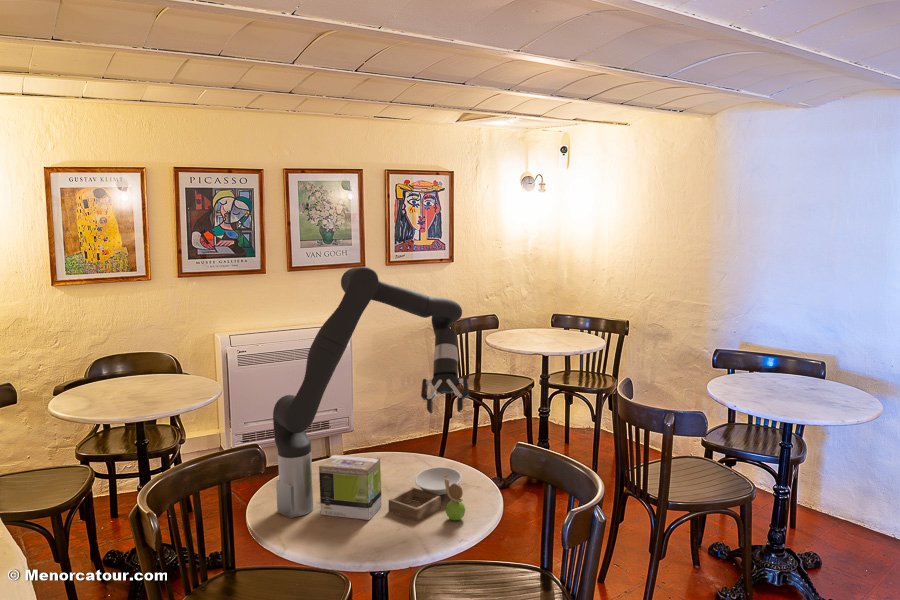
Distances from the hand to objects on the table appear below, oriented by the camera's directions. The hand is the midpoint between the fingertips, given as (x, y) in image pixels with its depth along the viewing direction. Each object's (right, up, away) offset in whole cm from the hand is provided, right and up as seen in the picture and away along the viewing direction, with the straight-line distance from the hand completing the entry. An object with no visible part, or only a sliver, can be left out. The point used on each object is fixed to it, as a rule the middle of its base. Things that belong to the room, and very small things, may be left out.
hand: (444, 412), depth 187 cm
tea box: (-27, -28, -6) cm, 39 cm away
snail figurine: (+3, -28, -11) cm, 30 cm away
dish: (-2, -26, +6) cm, 27 cm away
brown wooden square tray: (-9, -27, -5) cm, 29 cm away
